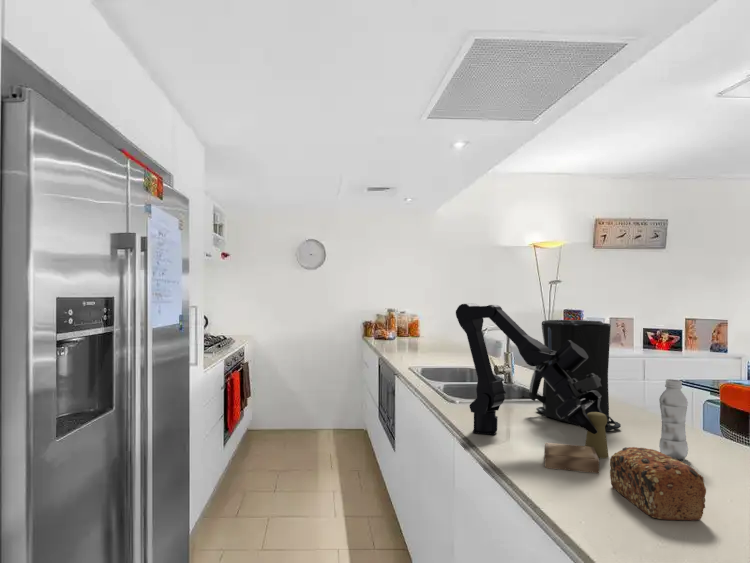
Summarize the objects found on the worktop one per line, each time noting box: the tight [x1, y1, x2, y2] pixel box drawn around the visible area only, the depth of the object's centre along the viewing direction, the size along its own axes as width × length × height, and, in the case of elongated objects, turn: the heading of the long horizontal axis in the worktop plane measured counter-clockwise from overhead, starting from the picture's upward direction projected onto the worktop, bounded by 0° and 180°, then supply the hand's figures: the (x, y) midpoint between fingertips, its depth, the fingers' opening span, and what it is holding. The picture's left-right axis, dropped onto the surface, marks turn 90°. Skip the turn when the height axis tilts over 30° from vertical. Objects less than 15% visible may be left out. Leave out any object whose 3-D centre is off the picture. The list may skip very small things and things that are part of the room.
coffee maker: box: [528, 319, 622, 433], centre depth 185 cm, size 23×32×34 cm
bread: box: [609, 446, 707, 522], centre depth 110 cm, size 19×11×10 cm, turn 179°
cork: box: [584, 412, 610, 459], centre depth 142 cm, size 6×6×11 cm
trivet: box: [543, 442, 600, 474], centre depth 135 cm, size 12×12×3 cm
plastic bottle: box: [658, 378, 689, 460], centre depth 141 cm, size 6×7×20 cm
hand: (601, 430), depth 141 cm, fingers open, 8 cm apart
